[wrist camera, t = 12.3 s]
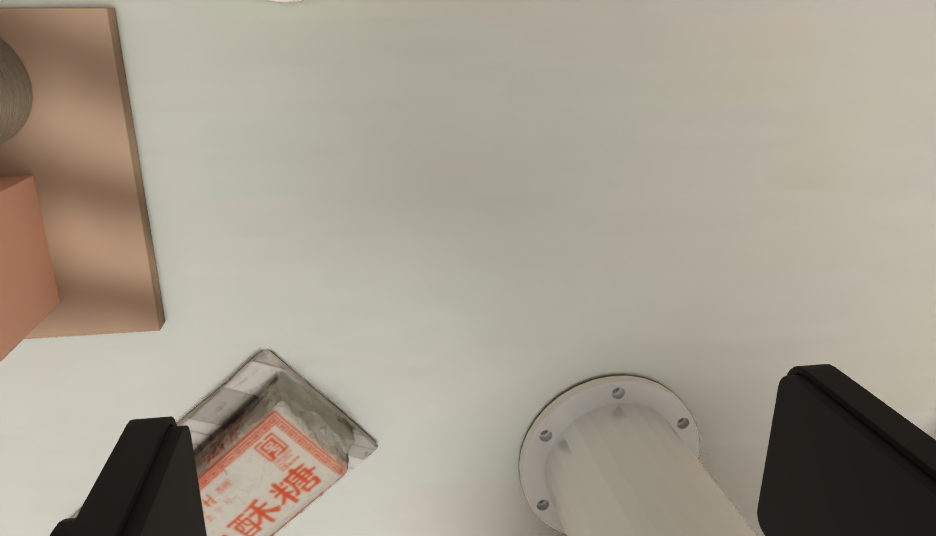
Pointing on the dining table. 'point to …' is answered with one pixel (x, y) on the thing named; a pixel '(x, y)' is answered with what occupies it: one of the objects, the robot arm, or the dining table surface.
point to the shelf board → (84, 171)
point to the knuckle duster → (286, 1)
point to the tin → (13, 94)
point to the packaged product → (268, 449)
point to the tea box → (23, 263)
